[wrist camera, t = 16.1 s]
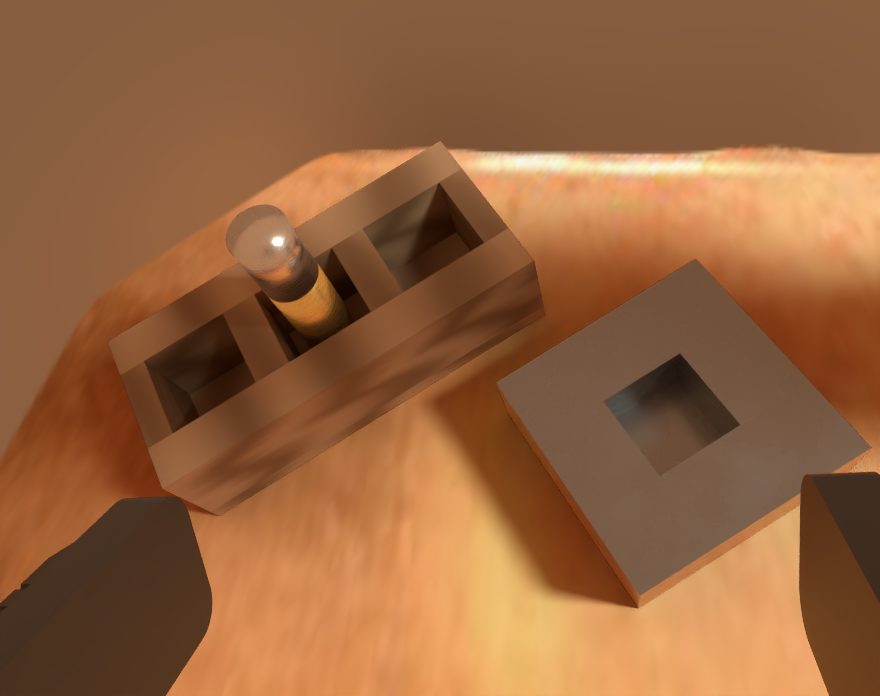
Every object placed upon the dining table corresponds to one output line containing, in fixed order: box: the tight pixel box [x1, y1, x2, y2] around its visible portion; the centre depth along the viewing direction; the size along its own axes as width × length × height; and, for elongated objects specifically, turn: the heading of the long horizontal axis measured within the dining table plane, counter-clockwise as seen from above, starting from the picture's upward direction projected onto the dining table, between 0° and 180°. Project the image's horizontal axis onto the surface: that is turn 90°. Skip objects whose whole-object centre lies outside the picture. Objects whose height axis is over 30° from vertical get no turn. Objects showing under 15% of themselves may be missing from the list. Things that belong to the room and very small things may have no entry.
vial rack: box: [108, 141, 545, 516], centre depth 44 cm, size 22×10×6 cm, turn 120°
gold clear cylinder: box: [226, 205, 356, 348], centre depth 40 cm, size 3×3×12 cm
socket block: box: [496, 259, 871, 608], centre depth 38 cm, size 12×12×4 cm
